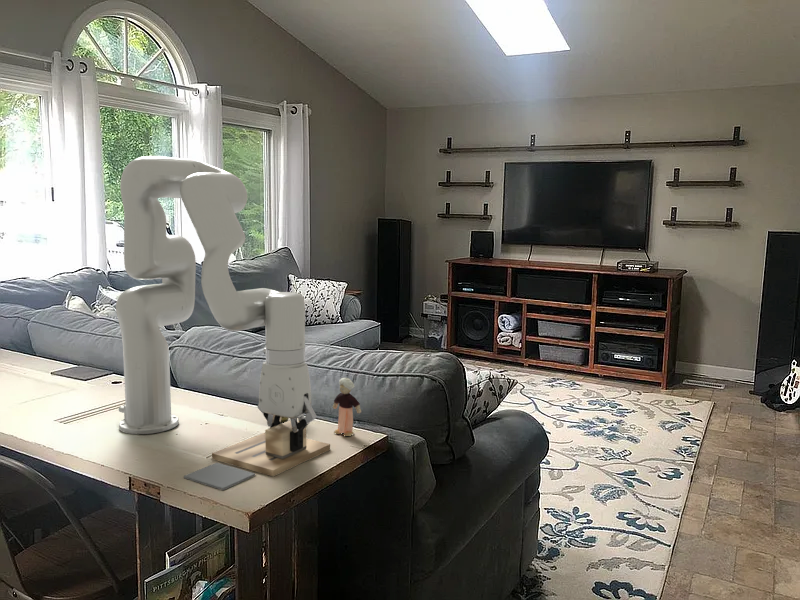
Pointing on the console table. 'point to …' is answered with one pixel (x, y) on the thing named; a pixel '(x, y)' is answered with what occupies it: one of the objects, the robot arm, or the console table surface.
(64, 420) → the console table surface
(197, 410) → the console table surface
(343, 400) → the grandmother figurine
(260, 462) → the plank
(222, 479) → the mat
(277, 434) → the block
